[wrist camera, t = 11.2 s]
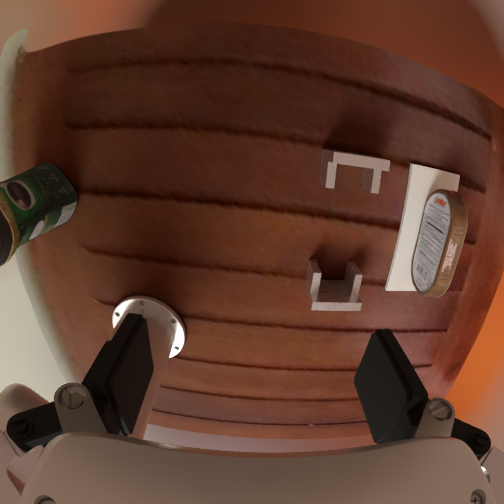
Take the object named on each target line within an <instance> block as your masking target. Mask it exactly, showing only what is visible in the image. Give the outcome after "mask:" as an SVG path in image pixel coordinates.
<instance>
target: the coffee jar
mask: <svg viewBox="0 0 504 504" xmlns="http://www.w3.org/2000/svg"><path fill="white" fill-rule="evenodd" d="M76 205H77V194H76V191H75V189H74V188H73V186H72V185H71V183H70V182H69V180H68V179H67V178H66V176H65V175H64V174H63V173H62V172H61V171H60V170H59V169H58V168H57V167H56V166H55V165H54V164H52V163H44V164H41V165H38V166H36V167H33V168H31V169H29V170H27V171H25V172H23V173H21V174H19V175H17V176H14V177H12V178H10V179H8V180H6V181H3V182H0V266H1V265H3V264H5V263H6V262H8V261H9V259H10V258H11V257H12V256H13V254H14V253H15V251H16V249H17V248H18V247H19V246H21V245H22V244H24V243H26V242H27V241H29V240H31V239H33V238H35V237H37V236H40V235H42V234H44V233H46V232H49V231H51V230H53V229H55V228H58V227H59V226H61V225H63V224H64V223H65V222H67V220H68V219H69V218H70V217H71V215H72V214H73V212H74V210H75V208H76Z"/></svg>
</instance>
